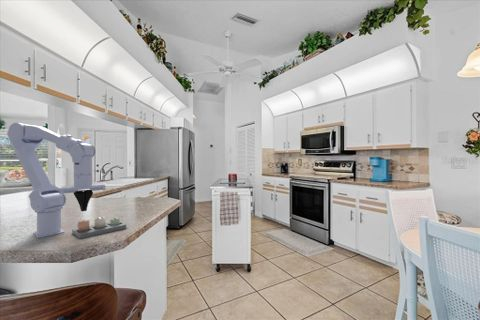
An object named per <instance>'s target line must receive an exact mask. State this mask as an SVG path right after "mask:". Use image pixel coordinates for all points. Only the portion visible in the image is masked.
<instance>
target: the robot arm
mask: <svg viewBox="0 0 480 320" xmlns="http://www.w3.org/2000/svg"><path fill="white" fill-rule="evenodd" d="M6 135H7V137H8V138H9V141H10V143H11V145H12V147H13V150H14V153H15V155H16V157H17V159H18V162H19V163H20V165H21V167H22V169H23V171H24V173H25V175H26V178H27V179H28V181H29V183H30V185H31V187H32V189H33V190H32V191H31V192H30V193H29V195H28V198H29V202H30V207H31V209H32V210H33V212H34V213H36V231H33V234H34V235H35V237H36V238H37V239H40V238H45V237H50V236H54V235H58V234H59V235H60V234H64V233H65V230H63V229H62V209H63V208H64V205H65V204H66V203H67V197H66V194H71V193H72V194H73V195H74V197H75V199H76V201H77V202H78V205H79V208H80V212H87V210H88V205H89V203H90V200H91V198H92V196H93V195H94V191H102V190H103V191H105V190H106V185H105V184H95V185H94V184H93V157H95V155H96V148H95V146H94V145H93V144H92V143H90V142H87V143H84V142H83V140H81V139H76V138H73V135H71V134H63V135H62V134H61V135H60V134H58V133H56V132H54V131H52V130H50V129H49V128H47V127H43V126H42V125H32V124H27V123H20V122H13V123H11V125H9V127H8V130H7V133H6ZM44 140H45V141H48V142H49V143H50V142H51V143H53V144H55V147H56V148H57V149H58V150H61V151H64V152H66V153H67V154H69V156H70V157H71V160H72V161H71V162H72V163H73V186H70V187H69V186H68V187H67V186H66V187H57V186H56V185H53V184H52V183H51V181H50V179H49V177H48V176H47V173H46V171H45V169H44V167H43V165H42V163H41V162H40V159H39V157H38V156H37V154H36V152H35V150H36V149H38V148H39V146H41V144H42V143H43V141H44Z"/></svg>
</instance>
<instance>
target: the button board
mask: <svg viewBox="0 0 480 320" xmlns="http://www.w3.org/2000/svg"><path fill="white" fill-rule="evenodd" d="M89 226H90V230H88V231H83V232H78V227H77V228H73V229H71V233H72V234H73V236H75V237H76V238H78V239H85V238H90V237H94V236H99V235H103V234H108V233H111V232H115V231H120V230H125V229H127V224H126V223H123V222H121V221H120V224H118V225H114V226H110V221H108V222H105V227H103V228H95V224H93V225H89Z"/></svg>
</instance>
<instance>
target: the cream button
mask: <svg viewBox="0 0 480 320" xmlns="http://www.w3.org/2000/svg"><path fill="white" fill-rule="evenodd" d="M105 223H106V217H105V216H98V217H95V218H94V225H95V228H103V227H105Z"/></svg>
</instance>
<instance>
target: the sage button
mask: <svg viewBox="0 0 480 320" xmlns="http://www.w3.org/2000/svg"><path fill="white" fill-rule="evenodd" d="M109 222H110V226H114V225H118V224H120V222H121V221H120V218H119V217H112V218H110V219H109Z"/></svg>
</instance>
